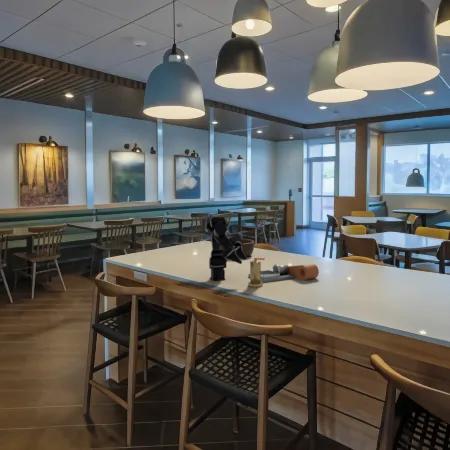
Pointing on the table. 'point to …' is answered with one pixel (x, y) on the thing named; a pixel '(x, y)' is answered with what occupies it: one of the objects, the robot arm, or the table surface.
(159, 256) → the table surface
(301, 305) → the table surface
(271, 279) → the socket plate
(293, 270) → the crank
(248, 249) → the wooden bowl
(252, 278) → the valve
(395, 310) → the table surface
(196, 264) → the table surface
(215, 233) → the robot arm
